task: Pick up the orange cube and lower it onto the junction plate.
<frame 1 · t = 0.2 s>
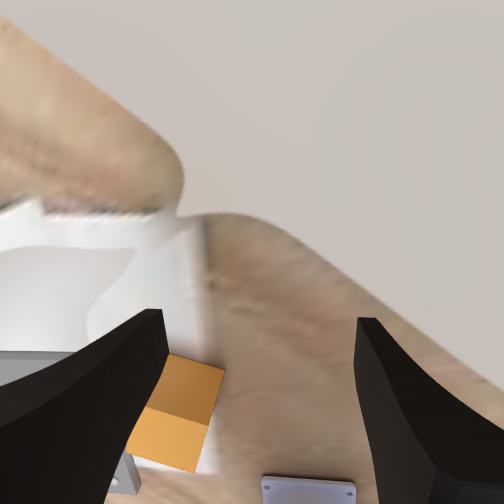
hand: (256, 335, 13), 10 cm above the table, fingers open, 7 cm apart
junction plate: (60, 422, 32), on the table
orange cube: (187, 384, 28), on the table
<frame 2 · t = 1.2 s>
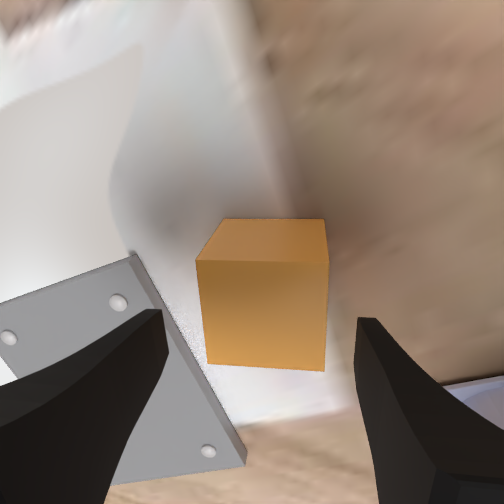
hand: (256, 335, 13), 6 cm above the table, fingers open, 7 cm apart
junction plate: (120, 383, 24), on the table
orange cube: (273, 264, 19), on the table
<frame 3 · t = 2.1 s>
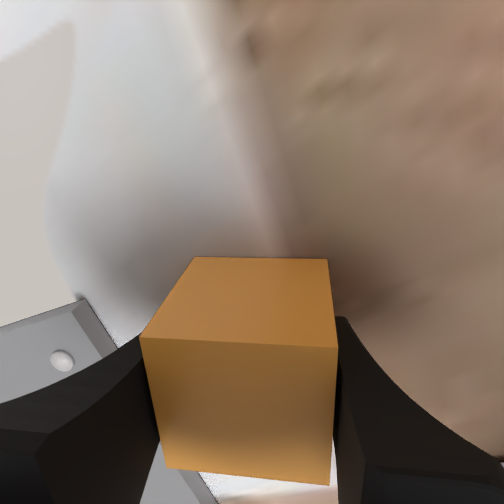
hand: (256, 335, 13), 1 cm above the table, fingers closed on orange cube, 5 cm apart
junction plate: (76, 447, 19), on the table
orange cube: (261, 314, 14), on the table, touching gripper
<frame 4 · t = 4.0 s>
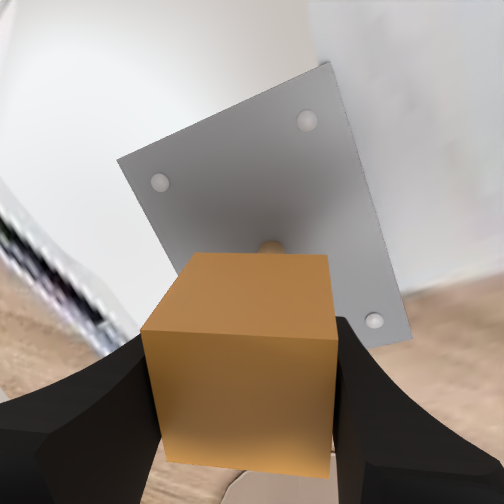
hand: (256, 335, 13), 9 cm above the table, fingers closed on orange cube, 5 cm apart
junction plate: (273, 246, 21), on the table
orange cube: (261, 310, 14), point 7 cm above the table, touching gripper
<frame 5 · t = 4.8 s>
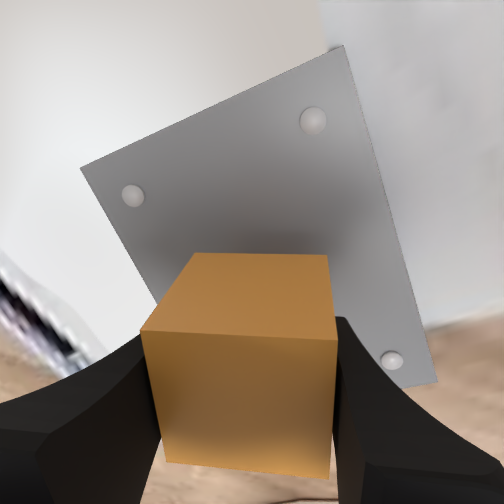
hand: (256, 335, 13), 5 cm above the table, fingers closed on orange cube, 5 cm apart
junction plate: (270, 271, 18), on the table
orange cube: (261, 310, 14), point 4 cm above the table, touching gripper
when the fingers open (3 cm above the table, at t = 5.7 s): orange cube stays where it is, resting on junction plate.
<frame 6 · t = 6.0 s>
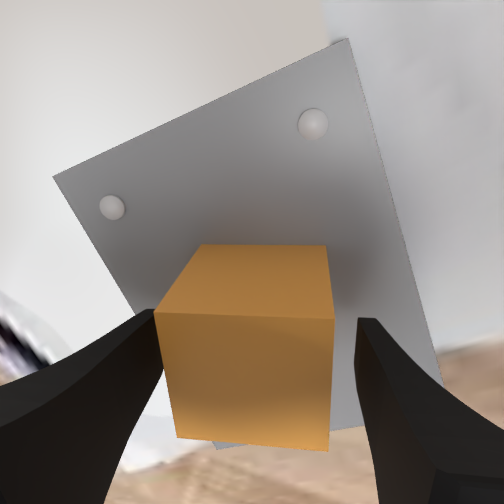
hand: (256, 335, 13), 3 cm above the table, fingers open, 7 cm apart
junction plate: (266, 289, 16), on the table
orange cube: (264, 298, 15), point 1 cm above the table, touching junction plate
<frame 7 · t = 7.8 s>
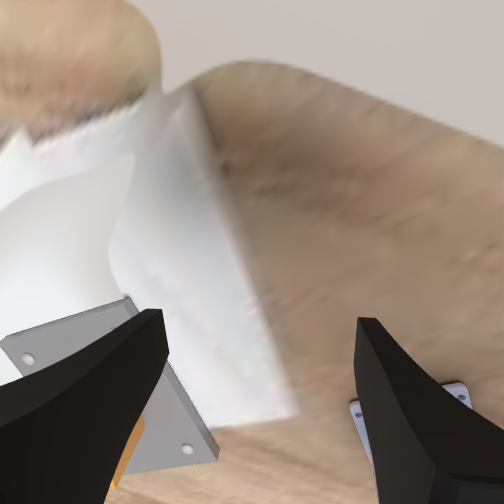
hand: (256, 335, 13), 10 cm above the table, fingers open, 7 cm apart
junction plate: (116, 394, 30), on the table
orange cube: (110, 403, 29), point 1 cm above the table, touching junction plate
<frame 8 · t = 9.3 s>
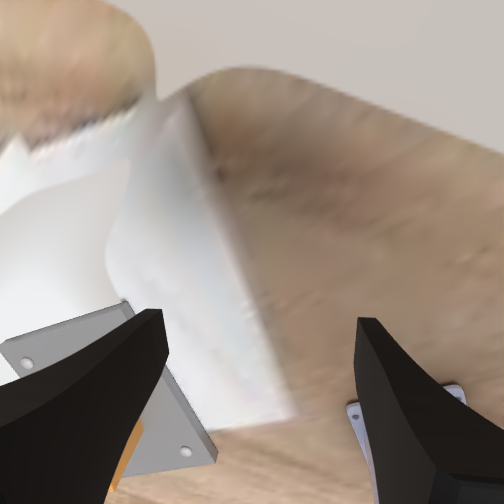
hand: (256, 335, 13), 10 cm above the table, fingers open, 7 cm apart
junction plate: (115, 397, 30), on the table
orange cube: (109, 406, 29), point 1 cm above the table, touching junction plate
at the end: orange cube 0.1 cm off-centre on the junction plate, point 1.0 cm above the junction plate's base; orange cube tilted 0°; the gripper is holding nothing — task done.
